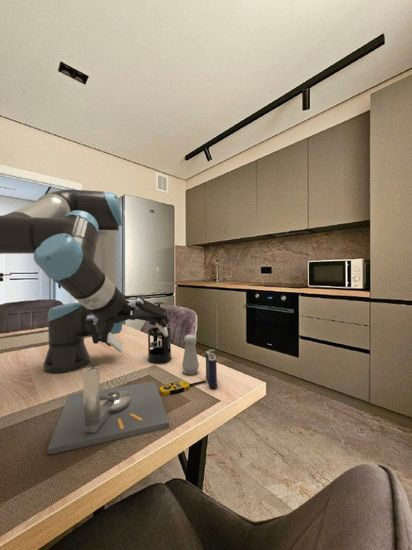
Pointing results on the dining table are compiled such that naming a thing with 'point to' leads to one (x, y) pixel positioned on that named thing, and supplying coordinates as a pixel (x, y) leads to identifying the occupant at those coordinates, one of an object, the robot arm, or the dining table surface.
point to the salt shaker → (190, 355)
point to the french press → (159, 344)
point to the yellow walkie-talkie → (176, 387)
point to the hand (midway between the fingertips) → (143, 340)
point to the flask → (211, 369)
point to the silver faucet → (99, 400)
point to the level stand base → (110, 419)
